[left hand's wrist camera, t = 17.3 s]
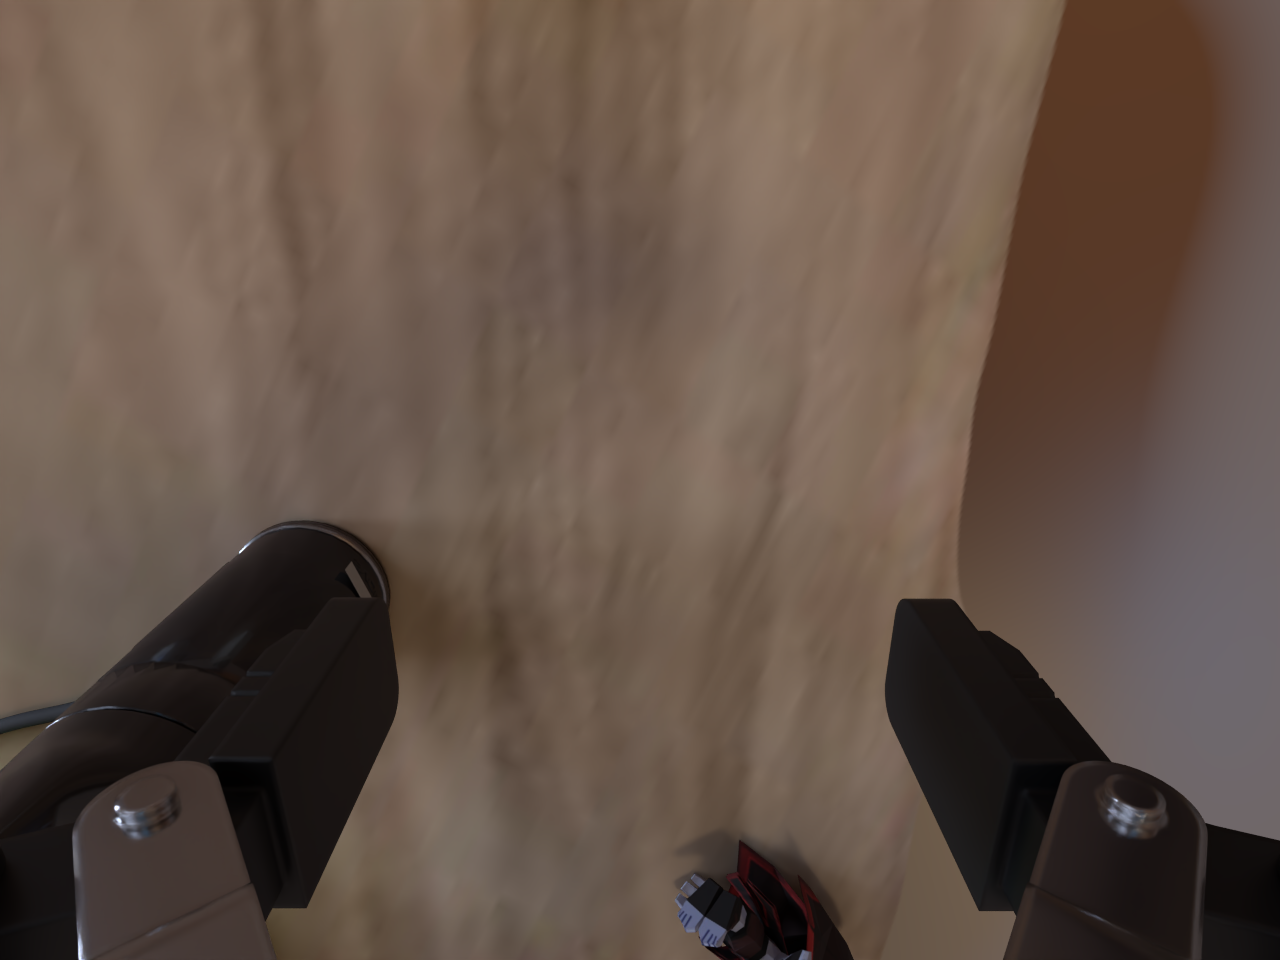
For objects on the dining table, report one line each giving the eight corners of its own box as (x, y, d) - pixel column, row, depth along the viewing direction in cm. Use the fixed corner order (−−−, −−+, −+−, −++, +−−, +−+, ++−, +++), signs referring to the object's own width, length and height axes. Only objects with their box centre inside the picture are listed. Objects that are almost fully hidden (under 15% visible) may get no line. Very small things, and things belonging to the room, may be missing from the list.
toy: (738, 1020, 42) (853, 1131, 47) (823, 872, 46) (920, 990, 51) (621, 917, 52) (728, 1019, 57) (700, 803, 56) (792, 909, 61)
